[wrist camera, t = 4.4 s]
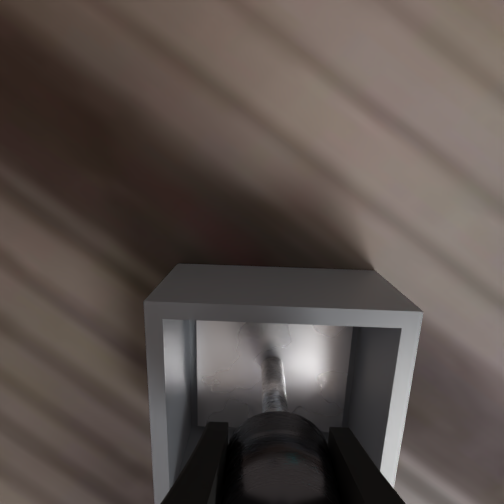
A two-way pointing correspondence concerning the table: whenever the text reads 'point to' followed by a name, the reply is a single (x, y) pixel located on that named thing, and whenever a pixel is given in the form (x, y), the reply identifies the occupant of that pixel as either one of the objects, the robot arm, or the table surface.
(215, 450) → the robot arm
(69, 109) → the table surface
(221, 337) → the plunger
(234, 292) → the press housing
